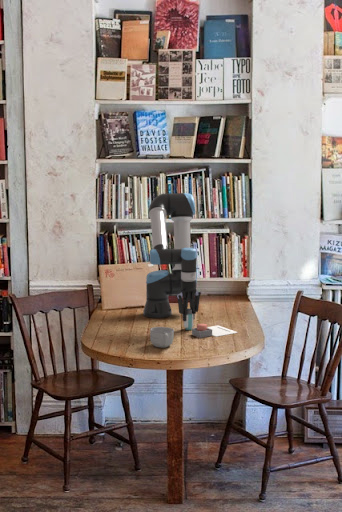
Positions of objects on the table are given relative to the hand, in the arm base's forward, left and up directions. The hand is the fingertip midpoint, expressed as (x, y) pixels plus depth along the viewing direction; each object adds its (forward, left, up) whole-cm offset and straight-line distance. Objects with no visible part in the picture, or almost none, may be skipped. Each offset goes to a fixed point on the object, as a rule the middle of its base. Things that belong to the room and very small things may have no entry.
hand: (188, 326), depth 364 cm
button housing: (+13, -1, -1) cm, 13 cm away
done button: (+13, -1, 0) cm, 13 cm away
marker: (0, 0, -1) cm, 1 cm away
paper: (+11, +10, -1) cm, 14 cm away
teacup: (+19, -27, -2) cm, 33 cm away
